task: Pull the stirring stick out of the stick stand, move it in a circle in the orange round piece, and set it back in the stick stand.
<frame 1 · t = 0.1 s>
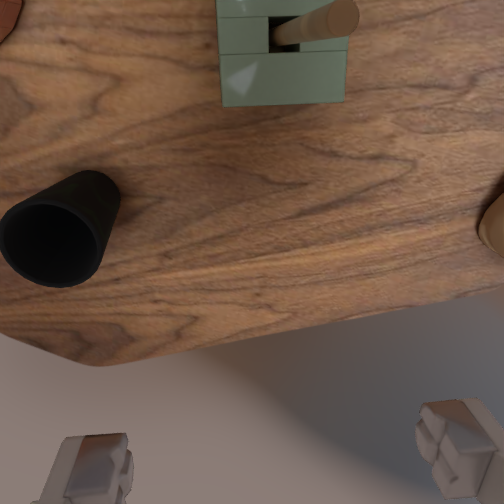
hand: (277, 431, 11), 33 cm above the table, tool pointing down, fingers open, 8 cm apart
stirring stick: (294, 31, 26), in the stick stand
stick stand: (272, 38, 36), on the table
cup: (93, 195, 41), on the table
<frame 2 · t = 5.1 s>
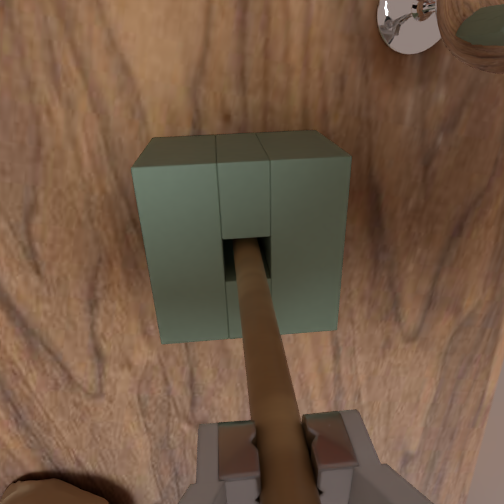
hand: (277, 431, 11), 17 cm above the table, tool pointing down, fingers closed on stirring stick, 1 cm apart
stirring stick: (255, 304, 16), in the stick stand, touching gripper
stick stand: (239, 210, 26), on the table
wineglass: (414, 10, 22), on the table
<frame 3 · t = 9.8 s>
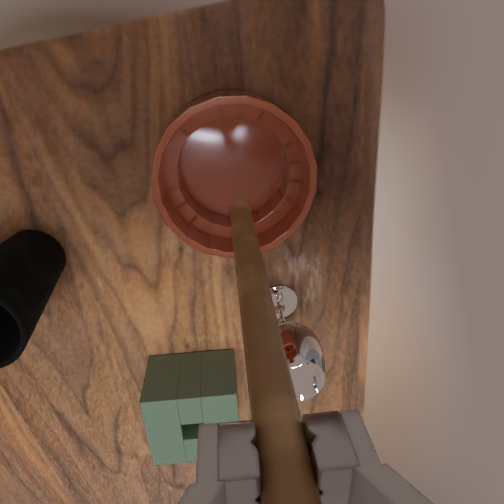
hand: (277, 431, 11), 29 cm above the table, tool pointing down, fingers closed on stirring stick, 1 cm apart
stirring stick: (256, 304, 16), point 23 cm above the table, touching gripper
stick stand: (195, 383, 48), on the table
orange round piece: (232, 165, 36), on the table
wineglass: (277, 301, 44), on the table
cup: (37, 254, 39), on the table
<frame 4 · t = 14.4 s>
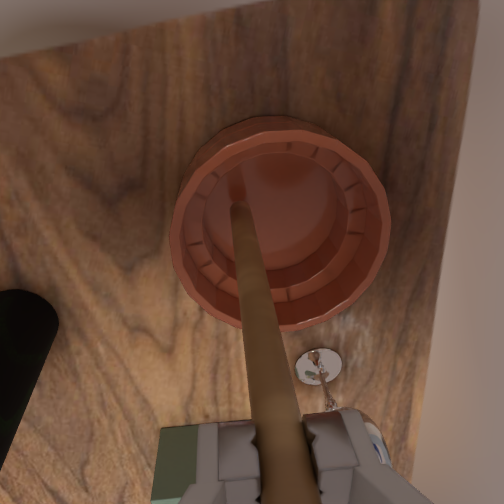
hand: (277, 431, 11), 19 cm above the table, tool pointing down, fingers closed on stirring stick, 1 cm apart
stirring stick: (256, 304, 16), point 13 cm above the table, touching gripper
stick stand: (216, 456, 40), on the table
orange round piece: (269, 209, 29), on the table
wineglass: (317, 365, 36), on the table
cup: (23, 317, 31), on the table
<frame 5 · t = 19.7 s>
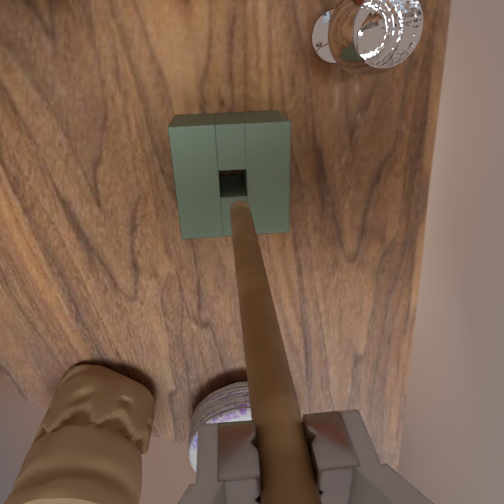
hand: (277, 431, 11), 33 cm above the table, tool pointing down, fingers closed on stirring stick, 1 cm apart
stirring stick: (256, 304, 16), point 26 cm above the table, touching gripper
stick stand: (230, 163, 40), on the table
wineglass: (335, 36, 36), on the table
container: (110, 390, 53), on the table
paper bowls: (244, 404, 56), on the table
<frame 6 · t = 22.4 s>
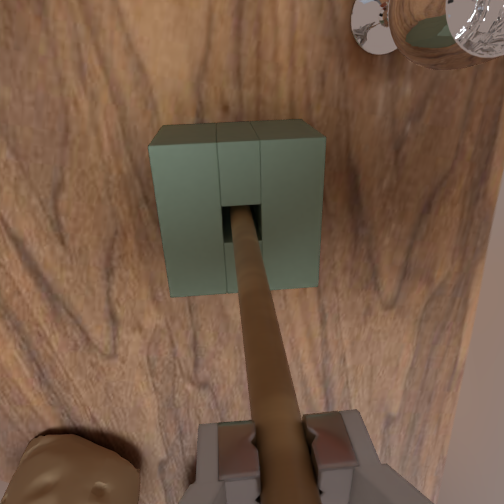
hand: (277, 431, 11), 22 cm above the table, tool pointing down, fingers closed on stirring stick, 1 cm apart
stirring stick: (256, 304, 16), point 16 cm above the table, touching gripper
stick stand: (236, 189, 30), on the table
wineglass: (382, 17, 26), on the table
container: (86, 460, 43), on the table
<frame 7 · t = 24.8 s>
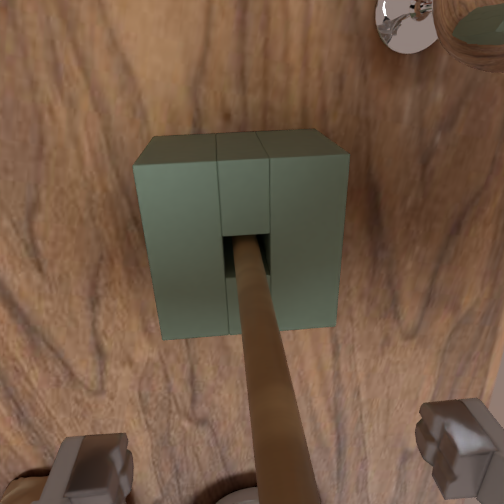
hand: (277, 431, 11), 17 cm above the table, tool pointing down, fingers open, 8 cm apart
stirring stick: (254, 299, 16), in the stick stand
stick stand: (239, 208, 26), on the table
wineglass: (412, 10, 22), on the table
container: (73, 501, 39), on the table
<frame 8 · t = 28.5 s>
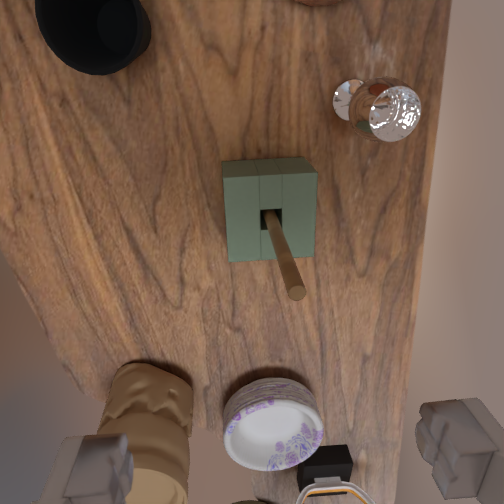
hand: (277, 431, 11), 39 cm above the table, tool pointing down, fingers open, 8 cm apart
stirring stick: (276, 233, 39), in the stick stand
stick stand: (263, 198, 49), on the table
lamp: (321, 460, 74), on the table
wineglass: (351, 100, 45), on the table
container: (154, 385, 62), on the table
cup: (123, 28, 40), on the table
paper bowls: (267, 397, 65), on the table
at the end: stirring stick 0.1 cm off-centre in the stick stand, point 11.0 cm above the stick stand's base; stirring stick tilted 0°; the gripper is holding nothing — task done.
